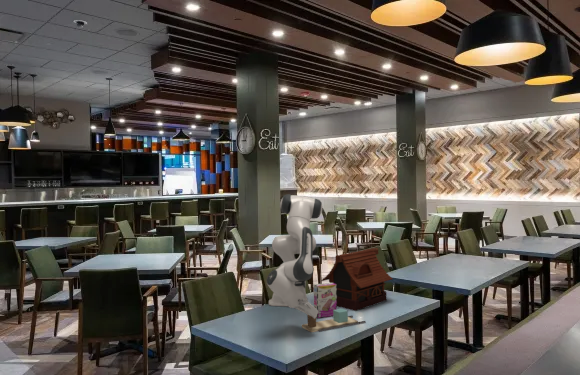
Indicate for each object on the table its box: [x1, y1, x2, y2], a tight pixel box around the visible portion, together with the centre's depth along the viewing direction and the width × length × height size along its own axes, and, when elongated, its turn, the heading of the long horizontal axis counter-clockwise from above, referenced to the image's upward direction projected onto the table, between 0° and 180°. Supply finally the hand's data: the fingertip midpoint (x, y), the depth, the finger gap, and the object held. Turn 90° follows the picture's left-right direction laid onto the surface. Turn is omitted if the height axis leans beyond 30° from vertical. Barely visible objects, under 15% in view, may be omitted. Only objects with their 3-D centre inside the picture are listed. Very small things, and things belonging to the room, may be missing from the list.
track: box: [318, 315, 367, 333], centre depth 218 cm, size 26×11×1 cm, turn 117°
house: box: [320, 247, 393, 312], centre depth 257 cm, size 35×28×29 cm
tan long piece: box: [301, 307, 359, 333], centre depth 216 cm, size 26×9×10 cm, turn 117°
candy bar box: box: [313, 282, 338, 319], centre depth 232 cm, size 11×5×16 cm, turn 111°
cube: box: [332, 308, 349, 323], centre depth 219 cm, size 5×5×5 cm
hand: (312, 315), depth 212 cm, fingers closed on tan long piece, 3 cm apart
